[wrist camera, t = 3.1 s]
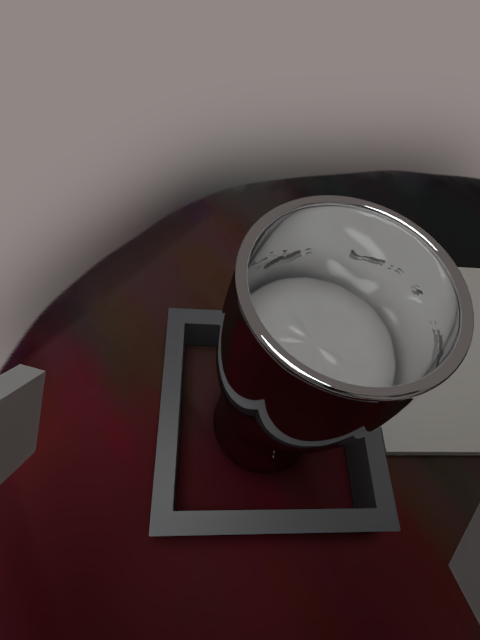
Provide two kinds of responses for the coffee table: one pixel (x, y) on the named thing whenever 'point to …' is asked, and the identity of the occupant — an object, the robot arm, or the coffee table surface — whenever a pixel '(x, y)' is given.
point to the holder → (367, 516)
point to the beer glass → (332, 329)
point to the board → (444, 404)
